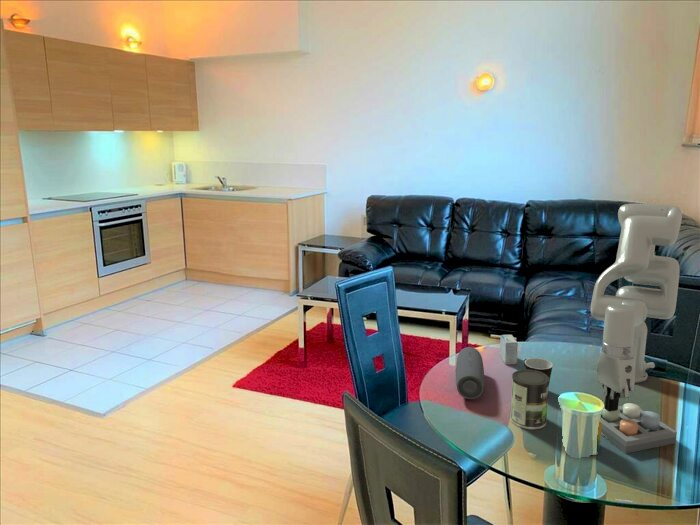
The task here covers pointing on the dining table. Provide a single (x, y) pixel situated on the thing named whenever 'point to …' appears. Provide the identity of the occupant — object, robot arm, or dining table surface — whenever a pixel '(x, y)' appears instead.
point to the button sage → (611, 415)
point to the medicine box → (508, 349)
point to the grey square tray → (643, 437)
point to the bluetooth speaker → (469, 373)
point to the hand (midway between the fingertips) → (611, 409)
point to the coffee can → (529, 399)
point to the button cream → (631, 410)
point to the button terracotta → (628, 427)
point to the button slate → (650, 420)
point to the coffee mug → (539, 365)
